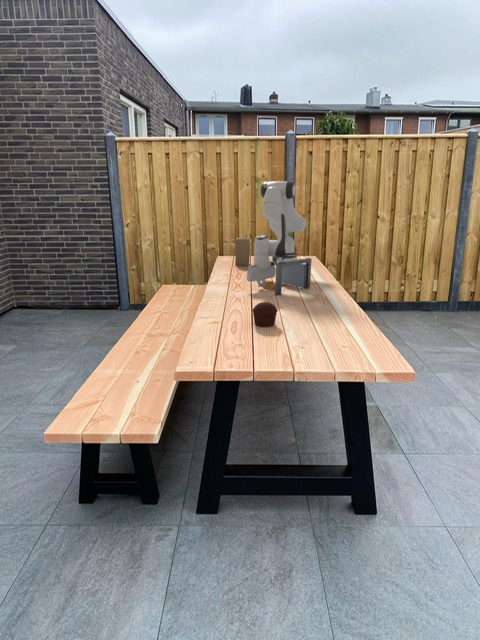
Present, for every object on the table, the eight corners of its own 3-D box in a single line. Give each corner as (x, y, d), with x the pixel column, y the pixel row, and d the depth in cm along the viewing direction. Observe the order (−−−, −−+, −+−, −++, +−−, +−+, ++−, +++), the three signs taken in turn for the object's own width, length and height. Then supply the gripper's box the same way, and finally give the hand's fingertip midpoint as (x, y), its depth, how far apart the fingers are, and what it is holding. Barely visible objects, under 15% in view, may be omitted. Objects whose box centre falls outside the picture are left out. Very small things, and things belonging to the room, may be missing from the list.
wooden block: (249, 263, 349) (249, 237, 343) (248, 266, 340) (248, 239, 334) (236, 263, 350) (236, 237, 344) (235, 265, 341) (235, 239, 335)
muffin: (266, 330, 198) (266, 308, 195) (246, 324, 205) (247, 303, 202) (282, 323, 207) (283, 302, 204) (263, 319, 214) (263, 298, 211)
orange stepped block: (268, 289, 271) (268, 282, 270) (262, 287, 275) (263, 281, 274) (282, 286, 279) (282, 279, 278) (276, 284, 282) (277, 278, 281)
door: (306, 288, 272) (307, 264, 267) (304, 288, 271) (305, 265, 267) (280, 281, 287) (280, 259, 283) (278, 282, 286) (279, 260, 282)
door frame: (306, 287, 275) (308, 258, 270) (309, 288, 273) (311, 258, 268) (275, 294, 258) (276, 263, 252) (278, 295, 256) (279, 263, 251)
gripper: (251, 266, 257) (251, 290, 261) (277, 262, 270) (276, 285, 274) (244, 265, 262) (244, 288, 266) (269, 261, 274) (269, 283, 279)
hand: (260, 286), depth 270 cm, fingers closed
